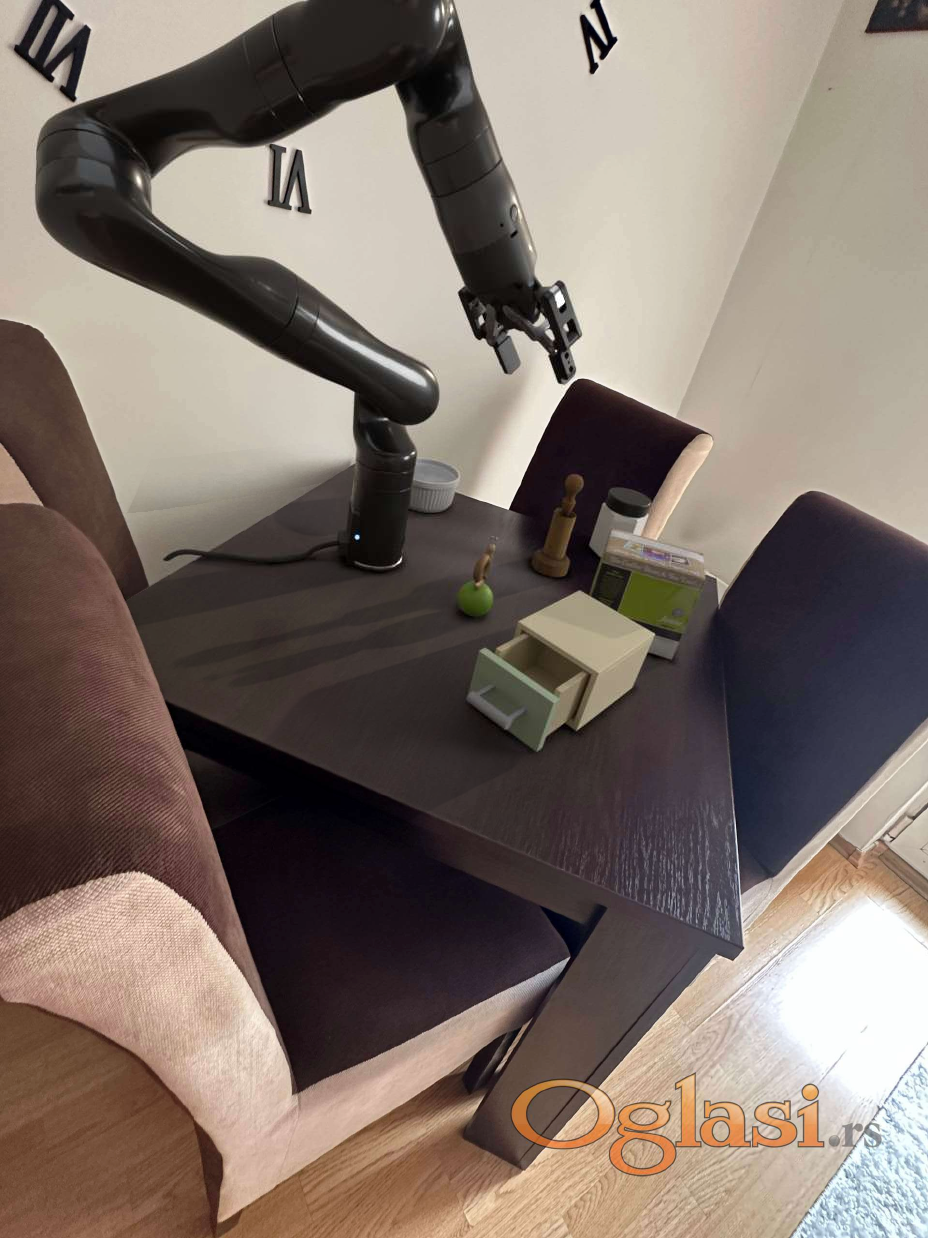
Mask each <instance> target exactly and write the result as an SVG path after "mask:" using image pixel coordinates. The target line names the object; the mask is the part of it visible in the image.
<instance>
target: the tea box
mask: <svg viewBox="0 0 928 1238" xmlns="http://www.w3.org/2000/svg"><path fill="white" fill-rule="evenodd" d="M704 555H705V554H704V553H702V552H700V551H697V550H693V549H689V548H685V547H682V546H678V545H674V544H672V543H668V542H663V541H660V540H656V539H653V538H650V537H647V536H643V535H641V536H639V535H636V534H632V533H628V532H625V531H621V530H618V529H614V528H611V530H610V533H609V535H608V539H607V542H606V545H605V548H604V551H603V554H602V557H600V561H599V563H598V567H597V569H596V572H595V575H594V577H593V581H592V584H591V587H590V590H589V593H588V595H589V596H590V597H592V598H594V599H596V600H597V601H599V602H601V603H603V604H604V605H606V606H608V607H609V608H611V609H613V610H615V611H616V612H618V613H620V614H622V615H623V616H625V617H627V618H628V619H630V620H632V621H634V622H635V623H637V624H639V625H641V626H642V627H644V628H646V629H648V630H649V631H651V632H653V633H654V634H655V636H654V638H653V641H652V643H651V645H650V648H649V650H648V652H647V653H649V654H652V655H655V656H657V657H658V656H659V657H661V658H665V659H668V660H673V658H674V656H675V654H676V651H677V648H678V646H679V644H680V642H681V639H682V637H683V635H684V632H685V631H686V628H687V626H688V624H689V622H690V619H691V616H692V615H693V612H694V609H695V607H696V605H697V603H698V601H699V598H700V596H701V593H702V591H703V589H704V586H705V584H706V580H707V579H706V571H705V560H704V559H705V558H704Z"/></svg>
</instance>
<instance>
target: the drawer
mask: <svg viewBox="0 0 928 1238" xmlns="http://www.w3.org/2000/svg"><path fill="white" fill-rule="evenodd" d="M591 675H592V674H590V673H588V672H587V671H585V670H584V669H582V668H581V667H579V666H578V665H576V664H575V663H573V662H572V661H570V660H568V659H567V658H565V657H564V656H562V655H561V654H559V653H558V652H556V651H555V650H553V649H551V648H550V647H548V646H547V645H545V644H544V643H542V642H541V641H539V640H538V639H536V638H535V637H533V636H531V635H530V634H528V633H527V632H526V633H524V634H522V635H520V636H518V637H516V638H515V639H514V638H512V639H511V640H510V641H507V642H505V643H503V644H502V645H500V646H498V647H496V648H495V651H494V652H492V651H491V650H490V649H488V648H487V647H483V648H481V649H480V650H479V651H478V653H477V657H476V661H475V665H474V669H473V673H472V677H471V681H470V685H469V689H468V693H467V696H466V699H465V700H466V702H467V703H469V704H470V705H471V706H472V707H474V708H475V709H476V710H478V711H480V712H481V713H482V714H483V715H485V716H486V718H488V719H489V720H491V721H493V722H494V724H496V725H498V726H499V727H501V728H502V729H503V730H504V731H505V730H507V731H508V732H509V733H511V734H512V735H514V736H515V737H516V738H517V739H519V740H520V741H522V742H523V743H524V744H525V745H527V746H528V747H529V748H531V749H532V750H533V751H535V752H536V753H537V752H539V751H540V750H541V749H542V748H543V747H544V744H545V742H546V738H547V737H548V736H549V735H550V734H551V733H553V732H554V731H556V730H558V728H560V727H561V726H562V725H565V724H566V723H565V722H566V721H568V720H569V719H570V718H572V717H573V716H574V715H576V714H577V712H578V709H579V707H580V704H581V701H582V699H583V696H584V693H585V691H586V688H587V686H588V683H589V680H590V678H591Z"/></svg>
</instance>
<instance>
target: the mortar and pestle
mask: <svg viewBox="0 0 928 1238" xmlns="http://www.w3.org/2000/svg"><path fill="white" fill-rule="evenodd" d="M564 483H565V485H564V486H565V490H566V496H565V497H563V498H562V502H561V503H562V504H561V505H562V506H561V507H557V508H555V509H554V511H553V515H552V517H551V518H552V519H551V522H550V525H549V529H548V532H547V535H546V539H545V542H544V546H543V547H542V548H540V549H537V550H535V551H534V553H533V556H532V560H531V567H532V568H533V570H535V571H536V572H538V573H540V574H542V575H544V576H548V577H551V578H561V577H564V576H566V575H567V574H568V571H569V567H570V564H571V560H570V558H569V557H568V556H567V554H566V552H567V548H568V545H569V542H570V538H571V534H572V532H573V528H574V525H575V522H576V519H577V513H575V511H573V509H574V508H575V505H576V503H577V501H576V499H575V498H576V495H577V494H578V493H580V491H581V490H582V489H583V487H584V484H585V483H584V479H583V477H582V476H581V475H579V474H576V473H572V474H570V475H568V476H567V477H566V479H565V482H564Z"/></svg>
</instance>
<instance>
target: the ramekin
mask: <svg viewBox="0 0 928 1238" xmlns="http://www.w3.org/2000/svg"><path fill="white" fill-rule="evenodd" d="M460 480H461V474H460V471H459V470H458V469H457V468H456V467H454V466H453V465H452V464H449V463H447V462H445V461H443V460H439V459H434V458H429V457H423V456H421V457H420V456H417V460H416V466H415V472H414V479H413V485H412V492H411V498H410V505H409V510H411V511H414V512H419V513H427V514H434V513H441V512H444V511H445V510H446V509H448V508H449V507H450V506H451V504H452V503H453V500H454V497H455V494H456V491H457V488H458V487H457V486H458V485H459V483H460Z"/></svg>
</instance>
